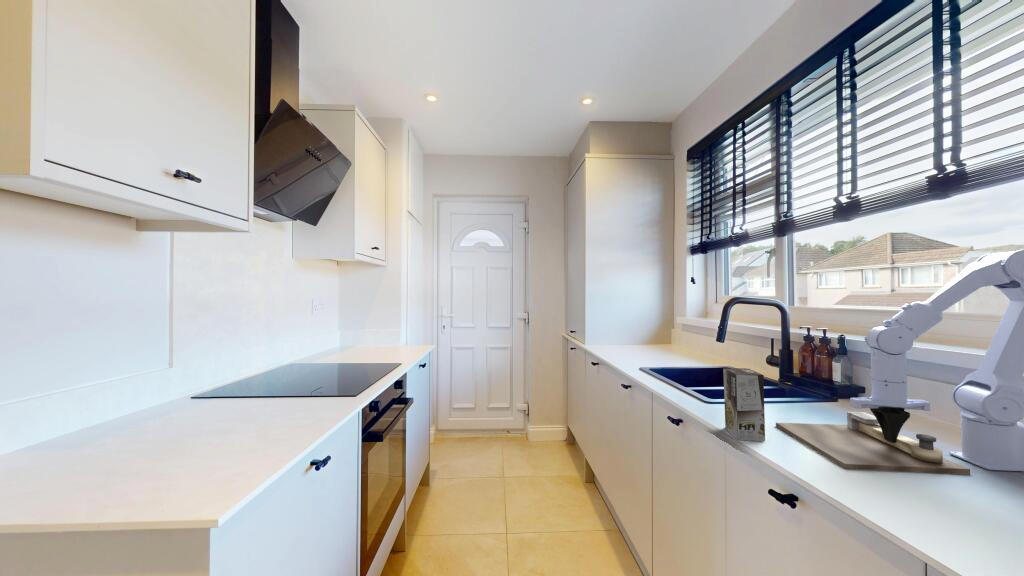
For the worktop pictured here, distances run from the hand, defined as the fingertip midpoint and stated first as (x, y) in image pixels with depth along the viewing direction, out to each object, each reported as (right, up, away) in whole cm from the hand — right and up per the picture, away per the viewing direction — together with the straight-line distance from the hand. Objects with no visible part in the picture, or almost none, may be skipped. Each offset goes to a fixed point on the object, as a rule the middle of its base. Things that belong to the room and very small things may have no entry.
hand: (890, 441), depth 84 cm
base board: (-5, -2, +3) cm, 6 cm away
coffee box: (-26, -3, +11) cm, 28 cm away
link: (+2, -1, 0) cm, 2 cm away
